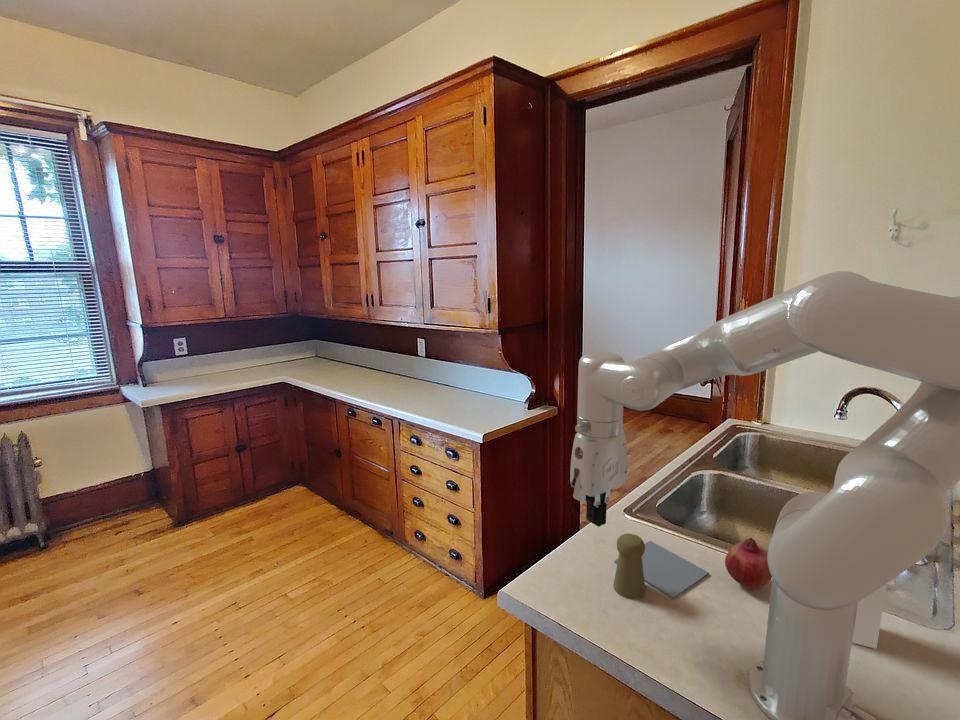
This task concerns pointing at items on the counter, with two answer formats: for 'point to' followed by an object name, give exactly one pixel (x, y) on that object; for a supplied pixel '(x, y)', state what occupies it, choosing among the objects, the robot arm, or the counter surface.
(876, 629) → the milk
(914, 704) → the counter surface
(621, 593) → the olive brown rounded cylinder
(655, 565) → the grey mat
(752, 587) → the fruit
